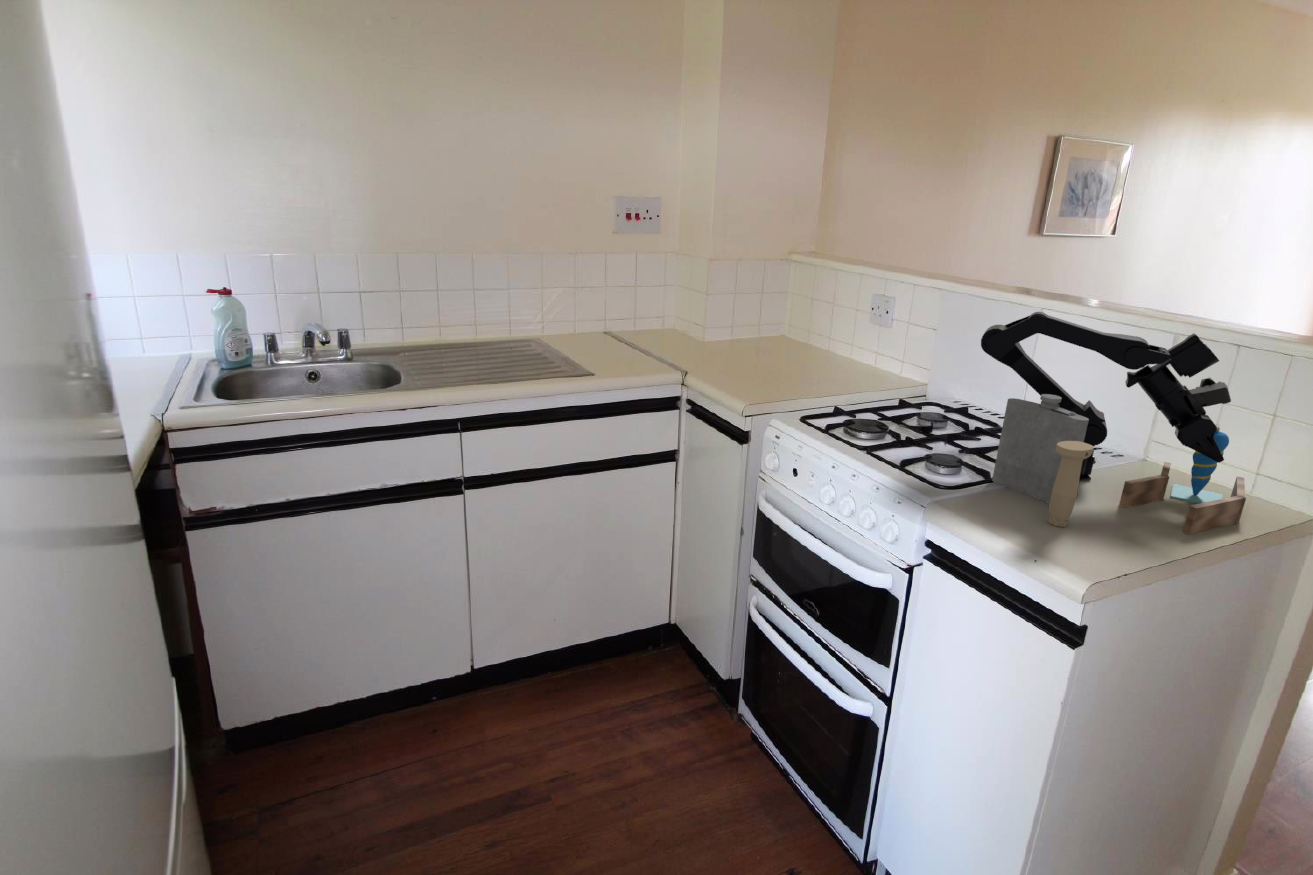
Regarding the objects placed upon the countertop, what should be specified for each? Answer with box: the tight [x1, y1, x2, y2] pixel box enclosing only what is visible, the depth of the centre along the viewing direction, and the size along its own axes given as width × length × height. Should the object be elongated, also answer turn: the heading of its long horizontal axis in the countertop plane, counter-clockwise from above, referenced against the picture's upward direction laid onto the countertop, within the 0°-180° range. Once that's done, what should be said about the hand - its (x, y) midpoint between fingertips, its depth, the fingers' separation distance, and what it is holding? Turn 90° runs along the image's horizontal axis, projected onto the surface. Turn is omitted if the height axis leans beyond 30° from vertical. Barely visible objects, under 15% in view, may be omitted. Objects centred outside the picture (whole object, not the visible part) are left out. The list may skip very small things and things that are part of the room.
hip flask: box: [991, 394, 1089, 505], centre depth 148 cm, size 16×4×20 cm, turn 32°
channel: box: [1118, 461, 1247, 535], centre depth 145 cm, size 25×26×5 cm
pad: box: [1169, 483, 1223, 504], centre depth 152 cm, size 8×8×1 cm
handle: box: [1048, 441, 1095, 528], centre depth 134 cm, size 5×6×15 cm
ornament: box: [1190, 424, 1230, 495], centre depth 150 cm, size 5×5×15 cm
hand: (1217, 454), depth 149 cm, fingers open, 9 cm apart
